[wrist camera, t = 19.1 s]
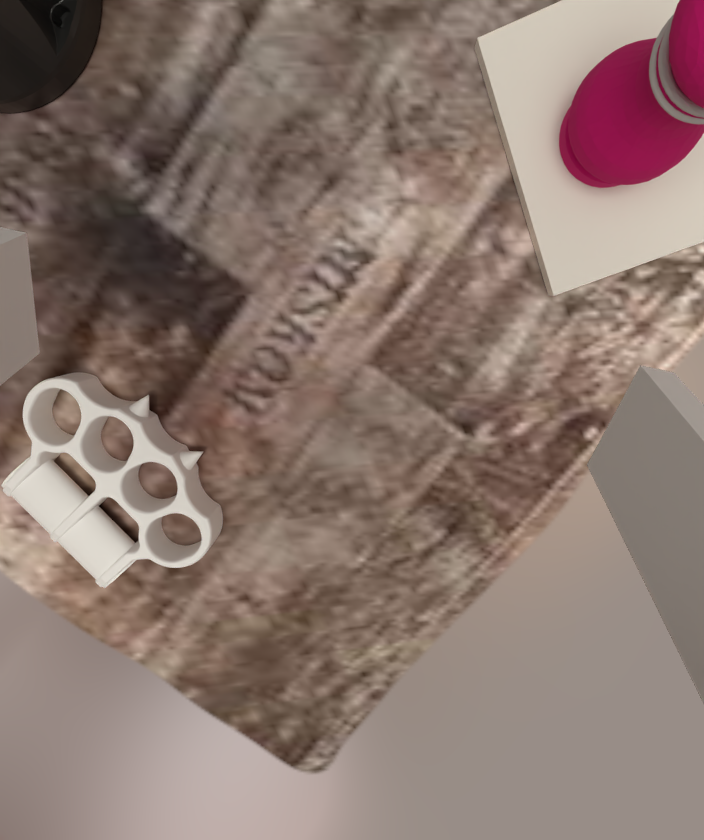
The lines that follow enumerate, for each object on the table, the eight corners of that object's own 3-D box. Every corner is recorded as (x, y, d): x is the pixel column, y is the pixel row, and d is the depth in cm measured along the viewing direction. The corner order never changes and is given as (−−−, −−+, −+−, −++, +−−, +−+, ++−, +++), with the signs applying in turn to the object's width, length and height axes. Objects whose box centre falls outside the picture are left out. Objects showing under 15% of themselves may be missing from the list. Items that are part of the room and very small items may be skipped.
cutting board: (474, 48, 37) (477, 37, 36) (659, -34, 35) (671, -48, 34) (548, 295, 40) (553, 295, 39) (722, 232, 38) (735, 230, 37)
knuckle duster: (-10, 450, 47) (104, 333, 44) (143, 602, 49) (262, 499, 46) (-41, 462, 44) (80, 336, 41) (124, 624, 46) (251, 515, 43)
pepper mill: (665, 63, 35) (991, -219, 16) (669, 185, 37) (972, 67, 17) (546, 86, 36) (715, -153, 16) (554, 205, 37) (720, 113, 18)
